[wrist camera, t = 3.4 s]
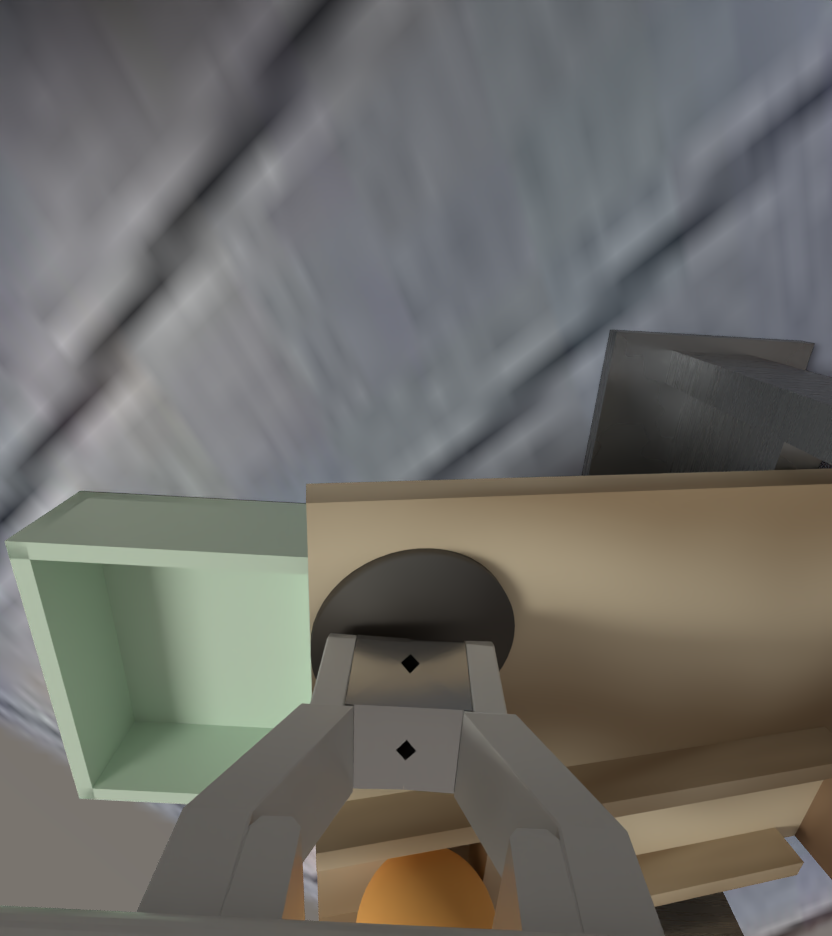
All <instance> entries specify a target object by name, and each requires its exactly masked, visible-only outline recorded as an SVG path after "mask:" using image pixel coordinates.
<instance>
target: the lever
mask: <svg viewBox="0 0 832 936" xmlns="http://www.w3.org/2000/svg"><path fill="white" fill-rule="evenodd" d="M306 513H307V545H308V578H309V611H310V644H311V677H312V694H313V690H314V687H315V683H316V679H317V675H318V671H319V667H320V663H321V660H322V656H323V652H324V648H325V644H326V640H327V638H328V636H329V635H330V633H335V634H348V635H357V636H358V635H368V636H381V637H394V638H407V639H425V640H447V641H463V642H464V641H489V642H492V643H493V645H494V647H495V652H496V658H497V663H498V668H499V673H500V678H501V684H502V689H503V694H504V699H505V704H506V710H507V714H516V715H517V716H518V717H519V718H520V719H521V720H522V721H523V722H524V723H525V724H526V726H527V727H528V728H529V729H530V730H531V731H532V732H533V733H534V734H535V735H536V736H537V737H538V738H539V739H540V740H541V741H542V742H543V743H544V744H545V745H546V746H547V748H548V749H549V750H550V751H551V752H552V753H553V754H554V755H555V756H556V757H557V758H558V759H559V760H560V761H561V762H562V763H563V764H564V765H565V766H566V767H567V769H568V770H569V771H570V772H571V773H572V774H573V775H574V776H575V777H576V778H577V779H578V780H579V781H580V782H581V783H582V784H583V785H584V786H585V787H586V788H587V790H588V791H589V792H590V793H591V794H592V795H593V796H594V797H595V798H596V799H597V800H598V801H599V802H600V803H601V804H602V805H603V806H604V807H605V808H606V809H607V810H608V812H609V813H610V814H611V815H612V816H613V817H614V818H615V819H616V820H617V821H618V822H619V823H620V824H621V825H622V826H623V827H624V828H625V829H626V830H627V832H628V835H629V837H630V840H631V843H632V846H633V848H634V851H635V854H636V857H637V859H638V862H639V865H640V868H641V871H642V873H643V876H644V879H645V882H646V884H647V887H648V890H649V893H650V895H651V898H652V901H653V904H654V907H656V906H661V905H665V904H670V903H674V902H678V901H683V900H687V899H692V898H696V897H701V896H705V895H710V894H714V893H718V892H723V891H727V890H732V889H736V888H741V887H745V886H750V885H754V884H758V883H763V882H767V881H772V880H776V879H781V878H785V877H790V876H794V875H797V874H798V872H799V870H800V868H801V866H802V865H803V863H804V862H803V861H802V859H801V858H800V857H799V856H798V855H797V853H796V852H795V851H794V850H793V848H792V847H791V846H790V845H789V844H788V842H787V841H786V840H785V839H784V838H785V837H790V836H794V835H795V836H796V838H797V839H798V840H799V841H800V842H801V844H802V845H803V846H804V847H805V848H806V849H807V851H808V852H809V853H810V854H811V855H812V857H813V858H814V859H815V860H816V861H817V863H818V864H819V865H820V866H821V867H822V868H823V870H824V871H825V872H826V873H827V874H828V876H829V877H830V878H831V879H832V469H799V470H765V471H731V472H696V473H662V474H628V475H594V476H560V477H526V478H491V479H457V480H423V481H389V482H355V483H320V484H306ZM445 848H447V849H449V850H451V851H453V852H455V853H456V854H458V855H460V856H461V857H462V858H463V859H465V860H466V861H467V862H468V863H469V864H470V865H471V866H472V867H473V868H474V870H475V871H476V872H477V874H478V875H479V877H480V878H481V879H482V881H483V883H484V885H485V886H486V888H487V890H488V893H489V895H490V898H491V900H492V903H493V906H494V909H495V910H496V905H497V900H498V895H499V890H500V885H501V880H502V878H501V876H500V874H499V873H498V871H497V869H496V868H495V866H494V864H493V862H492V861H491V859H490V857H489V856H488V854H487V852H486V850H485V849H484V847H483V845H482V844H481V842H480V840H479V838H478V837H477V835H476V833H475V832H474V830H473V828H472V826H471V825H470V823H469V821H468V820H467V818H466V816H465V815H464V813H463V811H462V809H461V808H460V806H459V804H458V803H457V801H456V799H455V797H454V794H452V793H439V792H427V791H414V790H404V789H403V790H400V789H353V792H352V794H351V795H350V797H349V798H348V799H347V801H346V802H345V804H344V805H343V806H342V808H341V809H340V811H339V812H338V813H337V815H336V816H335V818H334V819H333V821H332V822H331V823H330V825H329V826H328V828H327V829H326V830H325V832H324V833H323V835H322V836H321V837H320V839H319V840H318V842H317V843H316V867H317V875H318V908H319V921H330V922H351V923H356V920H357V914H358V910H359V906H360V903H361V900H362V897H363V894H364V892H365V890H366V888H367V886H368V884H369V882H370V880H371V879H372V877H373V875H374V874H375V872H376V871H377V870H378V869H379V868H380V866H381V865H382V864H383V863H384V862H385V861H386V860H387V859H390V858H396V857H401V856H407V855H412V854H418V853H423V852H429V851H434V850H440V849H445Z"/></svg>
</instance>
